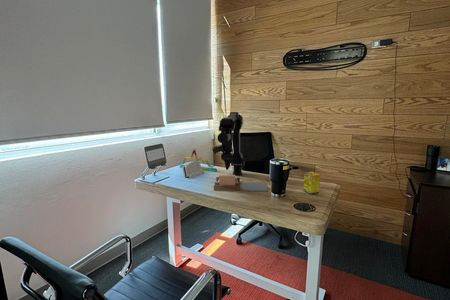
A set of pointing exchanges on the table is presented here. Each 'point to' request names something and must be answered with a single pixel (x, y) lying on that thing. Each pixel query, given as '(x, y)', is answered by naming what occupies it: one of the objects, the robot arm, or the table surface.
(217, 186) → the walnut rack
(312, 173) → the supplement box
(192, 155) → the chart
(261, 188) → the charcoal mat
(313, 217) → the table surface
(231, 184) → the terracotta board
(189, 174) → the beige rounded block
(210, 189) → the table surface
